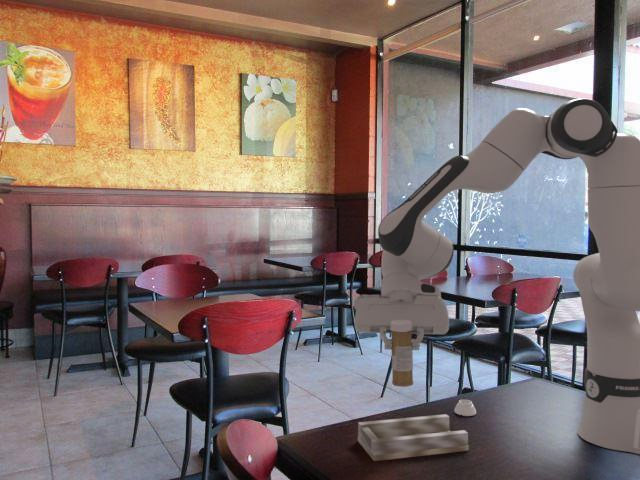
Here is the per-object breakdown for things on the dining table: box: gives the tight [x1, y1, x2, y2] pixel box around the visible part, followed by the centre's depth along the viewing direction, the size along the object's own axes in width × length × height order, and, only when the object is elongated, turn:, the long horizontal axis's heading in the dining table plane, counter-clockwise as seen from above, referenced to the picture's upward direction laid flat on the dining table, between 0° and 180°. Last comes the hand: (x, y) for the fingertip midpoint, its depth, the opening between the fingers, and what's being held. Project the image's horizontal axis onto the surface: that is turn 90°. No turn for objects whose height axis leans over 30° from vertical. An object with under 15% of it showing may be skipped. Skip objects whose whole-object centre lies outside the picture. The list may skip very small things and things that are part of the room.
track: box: [357, 413, 470, 462], centre depth 114 cm, size 20×10×4 cm, turn 104°
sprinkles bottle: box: [390, 320, 414, 388], centre depth 118 cm, size 5×5×14 cm
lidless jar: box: [454, 399, 477, 417], centre depth 134 cm, size 5×3×5 cm
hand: (401, 348), depth 117 cm, fingers closed on sprinkles bottle, 4 cm apart
